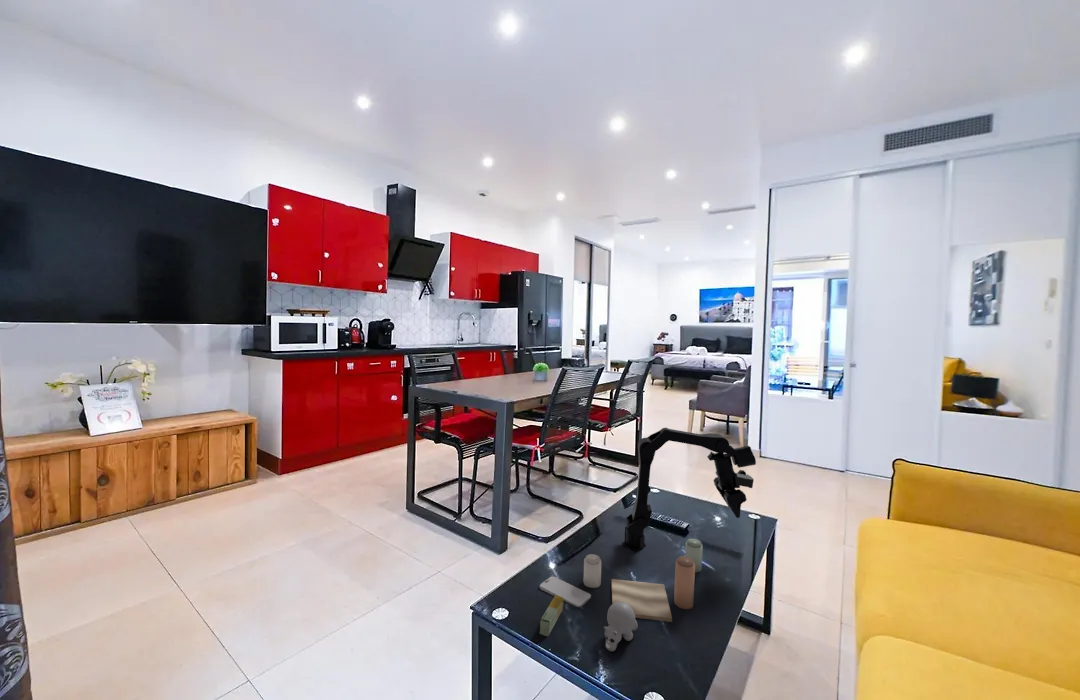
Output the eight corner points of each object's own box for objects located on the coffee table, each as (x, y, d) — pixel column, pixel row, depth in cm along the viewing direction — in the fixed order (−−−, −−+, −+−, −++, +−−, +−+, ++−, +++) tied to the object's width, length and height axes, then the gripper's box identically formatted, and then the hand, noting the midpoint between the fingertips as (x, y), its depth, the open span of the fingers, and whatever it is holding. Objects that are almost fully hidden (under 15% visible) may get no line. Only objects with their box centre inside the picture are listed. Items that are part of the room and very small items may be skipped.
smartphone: (579, 607, 124) (538, 585, 133) (579, 611, 124) (537, 589, 133) (592, 595, 130) (552, 575, 139) (592, 598, 130) (551, 578, 139)
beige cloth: (611, 582, 137) (611, 579, 137) (663, 587, 135) (663, 584, 135) (612, 614, 121) (612, 611, 121) (671, 621, 119) (672, 618, 119)
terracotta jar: (670, 602, 128) (672, 559, 127) (680, 595, 131) (681, 553, 131) (687, 611, 124) (689, 567, 123) (696, 603, 127) (698, 560, 127)
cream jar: (579, 582, 137) (580, 557, 137) (591, 575, 141) (592, 551, 140) (592, 590, 133) (593, 564, 133) (604, 583, 137) (605, 558, 136)
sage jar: (681, 567, 147) (682, 541, 147) (689, 561, 151) (690, 536, 150) (696, 574, 143) (697, 547, 143) (704, 568, 147) (705, 542, 146)
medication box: (548, 637, 112) (549, 622, 112) (538, 634, 113) (539, 619, 113) (563, 610, 123) (563, 596, 123) (554, 607, 124) (554, 593, 124)
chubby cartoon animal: (596, 653, 111) (590, 629, 108) (618, 613, 119) (613, 591, 116) (622, 666, 106) (616, 642, 103) (642, 625, 115) (637, 601, 112)
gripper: (757, 474, 145) (767, 519, 145) (739, 458, 163) (748, 498, 164) (723, 480, 147) (733, 525, 147) (709, 463, 165) (718, 503, 165)
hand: (734, 512), depth 156 cm, fingers open, 9 cm apart
